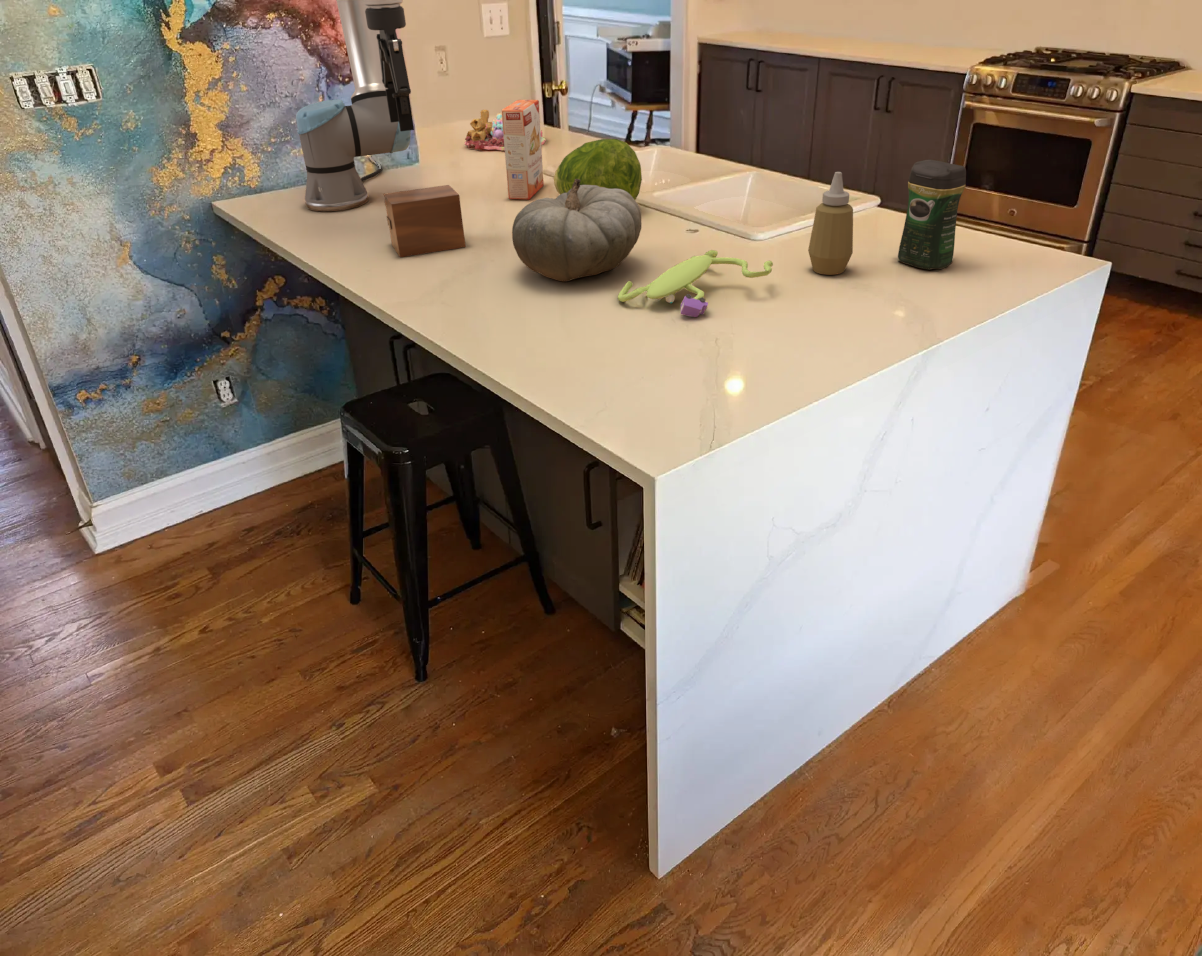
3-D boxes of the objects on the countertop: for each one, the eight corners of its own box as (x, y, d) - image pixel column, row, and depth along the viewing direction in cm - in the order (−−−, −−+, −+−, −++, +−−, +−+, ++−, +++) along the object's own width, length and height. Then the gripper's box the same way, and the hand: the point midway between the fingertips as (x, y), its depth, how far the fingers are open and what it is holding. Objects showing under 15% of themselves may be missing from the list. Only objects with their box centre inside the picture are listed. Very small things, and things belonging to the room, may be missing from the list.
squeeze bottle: (825, 281, 163) (835, 180, 153) (797, 268, 169) (805, 171, 159) (859, 272, 166) (871, 173, 156) (831, 260, 172) (840, 164, 162)
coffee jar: (959, 265, 167) (977, 163, 157) (931, 274, 163) (948, 170, 153) (917, 252, 174) (932, 154, 164) (889, 261, 170) (903, 161, 160)
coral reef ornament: (455, 152, 265) (451, 119, 260) (477, 135, 285) (474, 104, 280) (536, 151, 261) (534, 118, 256) (553, 134, 281) (551, 103, 276)
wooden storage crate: (391, 245, 191) (382, 193, 185) (456, 235, 195) (449, 184, 189) (399, 257, 184) (390, 204, 178) (466, 246, 188) (460, 194, 182)
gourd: (674, 252, 171) (657, 163, 162) (585, 310, 159) (560, 217, 149) (587, 240, 188) (566, 158, 178) (500, 291, 176) (472, 207, 166)
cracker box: (531, 200, 217) (524, 109, 205) (507, 200, 218) (499, 109, 207) (545, 185, 228) (539, 98, 217) (523, 185, 229) (516, 98, 218)
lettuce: (573, 227, 218) (599, 167, 218) (634, 230, 200) (663, 164, 201) (523, 191, 207) (551, 128, 207) (583, 191, 189) (613, 121, 190)
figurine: (786, 289, 160) (788, 259, 157) (675, 329, 146) (675, 297, 143) (714, 264, 172) (715, 236, 169) (606, 299, 159) (605, 269, 156)
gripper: (355, 3, 182) (374, 118, 193) (374, 11, 164) (394, 137, 176) (392, 1, 184) (408, 114, 196) (414, 8, 166) (431, 133, 178)
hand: (402, 125), depth 186 cm, fingers open, 10 cm apart
